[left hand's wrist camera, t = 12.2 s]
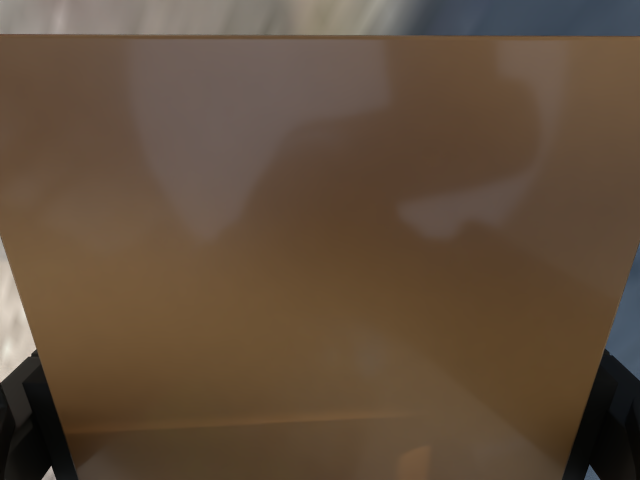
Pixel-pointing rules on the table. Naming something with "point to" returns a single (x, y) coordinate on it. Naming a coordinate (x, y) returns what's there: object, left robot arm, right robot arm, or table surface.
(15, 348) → the table surface
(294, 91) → the brown wooden beam
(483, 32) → the table surface
